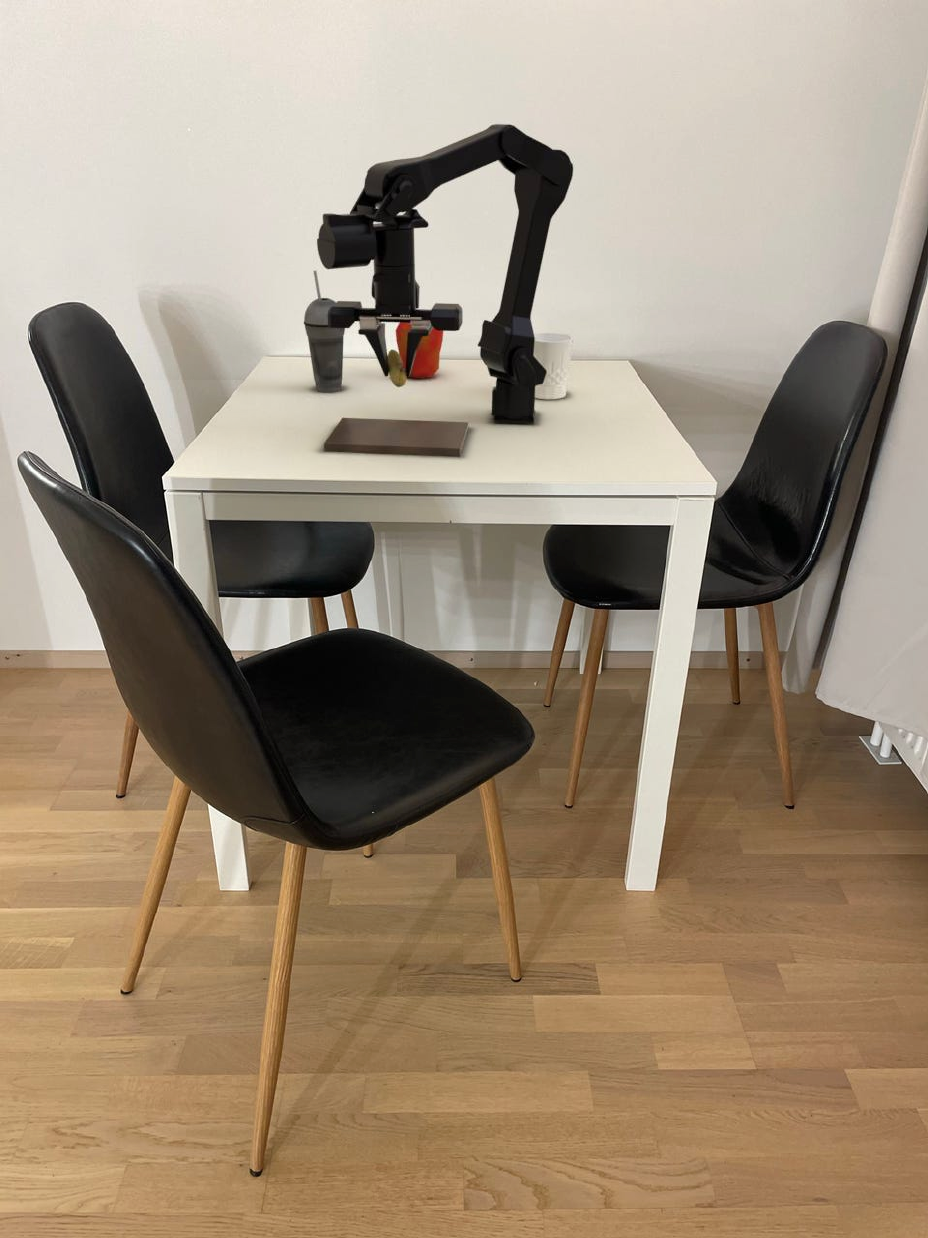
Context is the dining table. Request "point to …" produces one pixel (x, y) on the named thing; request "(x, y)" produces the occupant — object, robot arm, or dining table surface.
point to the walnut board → (398, 437)
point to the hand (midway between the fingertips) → (397, 376)
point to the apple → (421, 351)
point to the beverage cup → (324, 344)
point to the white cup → (553, 363)
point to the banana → (396, 368)
